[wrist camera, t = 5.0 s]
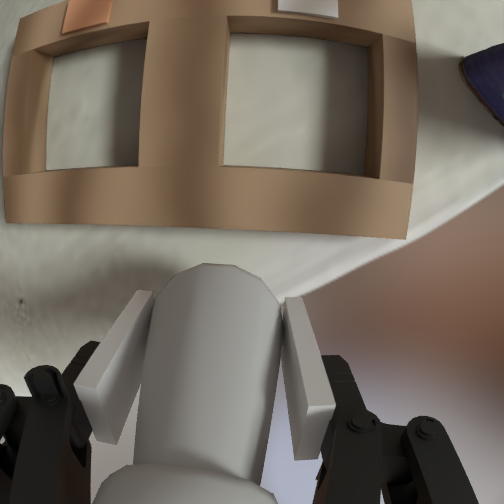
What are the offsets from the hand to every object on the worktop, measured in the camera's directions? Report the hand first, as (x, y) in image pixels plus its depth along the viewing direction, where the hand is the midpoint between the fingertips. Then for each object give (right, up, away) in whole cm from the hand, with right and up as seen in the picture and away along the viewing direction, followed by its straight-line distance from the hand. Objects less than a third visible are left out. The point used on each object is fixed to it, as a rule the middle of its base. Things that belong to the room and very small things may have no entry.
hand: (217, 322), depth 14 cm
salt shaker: (0, +1, +2) cm, 2 cm away
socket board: (-2, +12, +2) cm, 12 cm away
